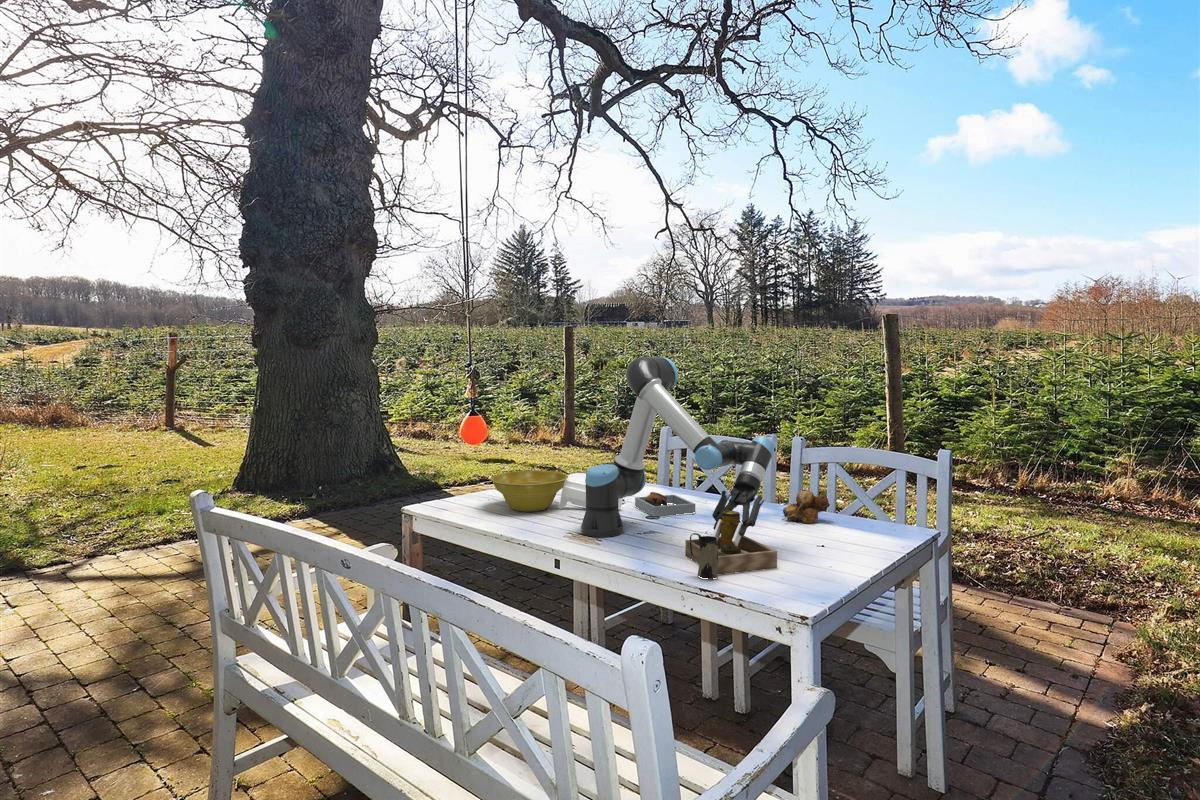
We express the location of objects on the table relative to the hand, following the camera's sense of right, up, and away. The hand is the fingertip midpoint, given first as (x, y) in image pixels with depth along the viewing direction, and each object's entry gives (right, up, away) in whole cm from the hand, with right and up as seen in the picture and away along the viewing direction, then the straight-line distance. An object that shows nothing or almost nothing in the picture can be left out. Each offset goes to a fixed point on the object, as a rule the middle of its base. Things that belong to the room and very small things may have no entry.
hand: (724, 541), depth 201 cm
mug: (-8, -8, -10) cm, 15 cm away
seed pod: (+40, -4, +55) cm, 68 cm away
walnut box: (+2, -7, +3) cm, 8 cm away
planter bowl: (-66, -3, +80) cm, 104 cm away
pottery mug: (-14, -3, +76) cm, 77 cm away
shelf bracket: (-41, -3, +77) cm, 87 cm away
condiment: (+3, -4, +3) cm, 6 cm away
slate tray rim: (-11, -3, +75) cm, 75 cm away
